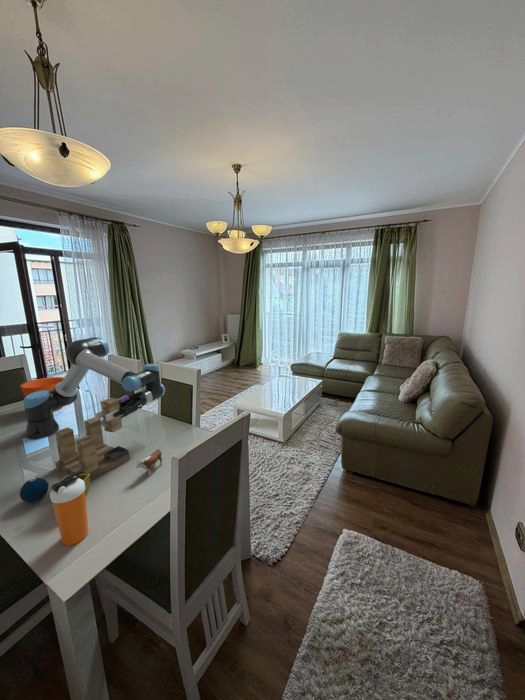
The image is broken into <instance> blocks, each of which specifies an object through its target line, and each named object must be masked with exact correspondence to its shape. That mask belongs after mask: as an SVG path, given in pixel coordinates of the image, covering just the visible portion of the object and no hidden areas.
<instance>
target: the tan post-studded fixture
mask: <svg viewBox="0 0 525 700" xmlns="http://www.w3.org/2000/svg"><path fill="white" fill-rule="evenodd" d="M101 420H102V418H100V419H98V420H96V416H94V417H91V418H88V419H85V420H83V425H84V429H85V430H84V431H85V436H83V437H80V438H78V439H75V434H74V433H75V432H74V429H72V428H70V427H68V426H67V427H64V428H61V429H59V430H58V431H56V432H55V433H54V436H55V441H56V447H57V453H58V458H59V459H58V460H56V461H54V465H55V468H56V469H57V470H59V471H60V472H63V473H64V474H66V475H72V474H90V482H89V484H91V483H92V482H93V481H95V480H97V479H99V478H100V477H102V476H103V475H104V476H105V475H106V474H108V473H109V472H111V471H113V470H114V469H116V468H119V467H120V466H121V465H123V464H125V463H127V462H128V461H131V456H130V450H129V449H128V448H126V447H122V446H120V445H118V446H115V447H114V446H111V445H108V444H106V443H104V435H103V427H102V421H101Z"/></svg>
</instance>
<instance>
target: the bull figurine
mask: <svg viewBox="0 0 525 700" xmlns="http://www.w3.org/2000/svg"><path fill="white" fill-rule="evenodd" d="M158 461H159V466H162V465H163V457H162V451H161V450H160V449H156V450H155V451H153V452H152V453H151V454H149V455H148V456H146V457H144V458H143V459H141V458H140V459H139V460H138V461H137V464H136V465H135V468H137V469H138V468H142V469H144V470H146V471H145V473H146V474H148V476H149V477H150V476H151V475H152V472H151V471H152V468H155V466H156V463H157V462H158Z"/></svg>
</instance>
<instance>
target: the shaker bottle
mask: <svg viewBox="0 0 525 700" xmlns="http://www.w3.org/2000/svg"><path fill="white" fill-rule="evenodd" d="M79 477H80V474H72V475H70V476H68V477H66V478H65V479H63V478H62V479H63V480H62V479H61V480H62V481H61V480H60V481H59V482H54V483H52V484H51V486H50V489H51V490H50V493H49V497H50V502H51V504H52V506H53V510H54V515H55V519H56V522H57V527H58V531H59V535H60V539H61V542H62V545H64V546H74V545H76V544H78V543H80V542H81V541H83V540H84V539H85V538H86V537H87V536H88V534H89V523H88V513H87V512H88V511H87V502H86V497H85V482H84V481H83V480H81V479H79Z"/></svg>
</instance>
